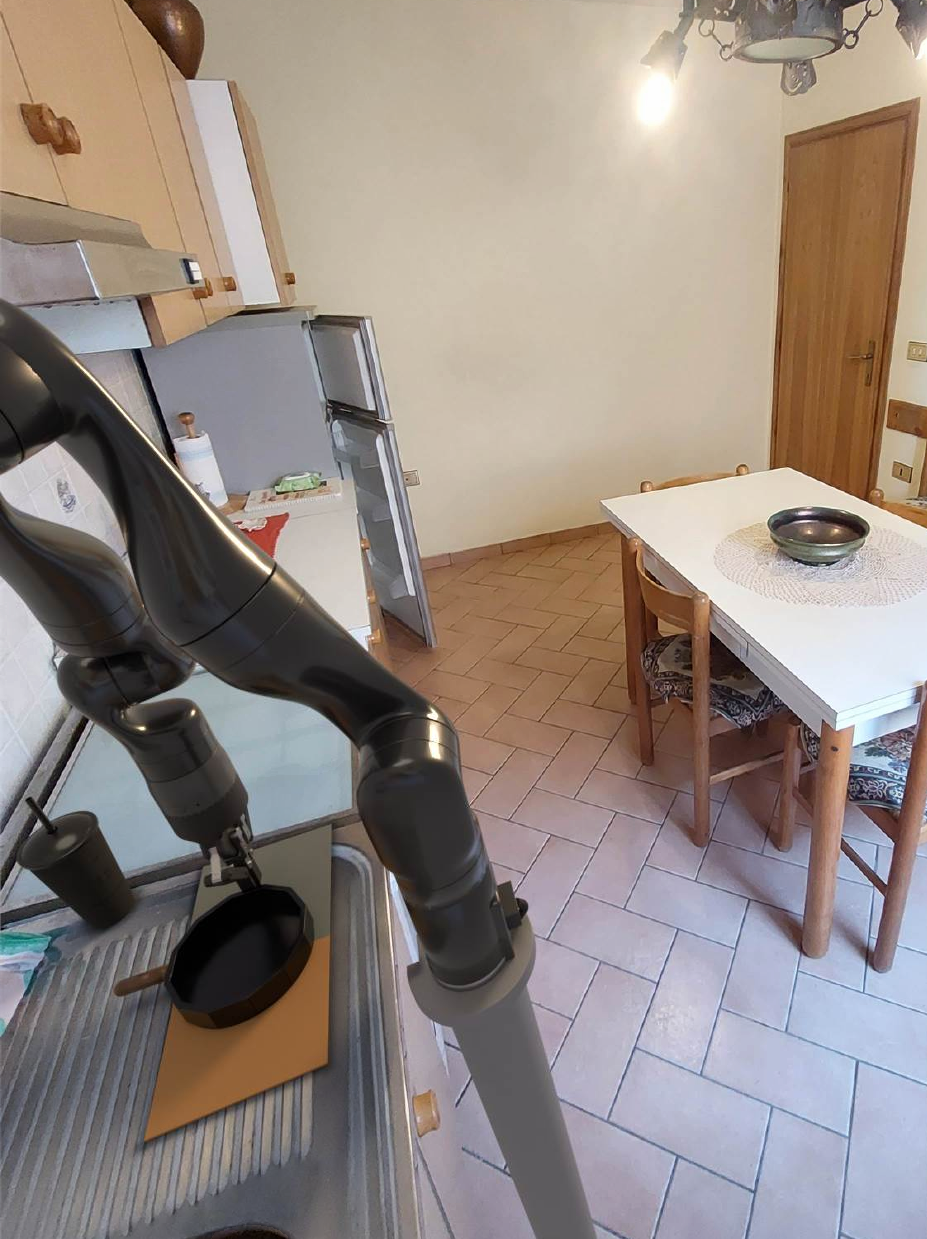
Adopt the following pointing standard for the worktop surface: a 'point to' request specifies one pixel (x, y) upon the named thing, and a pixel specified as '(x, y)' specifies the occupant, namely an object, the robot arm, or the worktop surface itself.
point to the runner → (276, 1038)
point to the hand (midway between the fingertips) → (252, 883)
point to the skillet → (235, 958)
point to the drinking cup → (77, 866)
